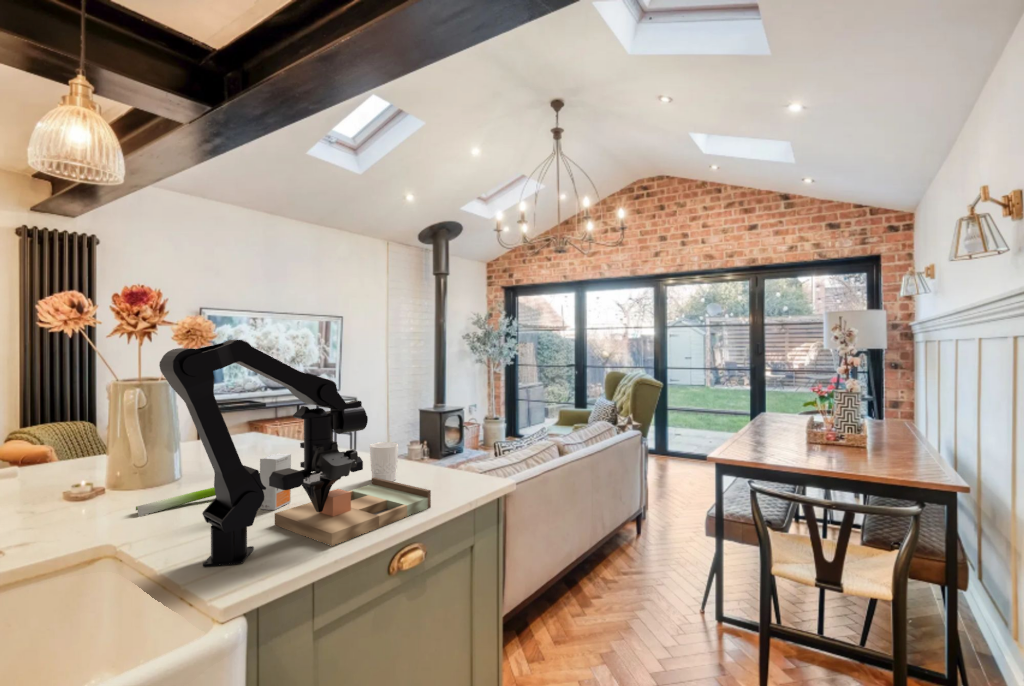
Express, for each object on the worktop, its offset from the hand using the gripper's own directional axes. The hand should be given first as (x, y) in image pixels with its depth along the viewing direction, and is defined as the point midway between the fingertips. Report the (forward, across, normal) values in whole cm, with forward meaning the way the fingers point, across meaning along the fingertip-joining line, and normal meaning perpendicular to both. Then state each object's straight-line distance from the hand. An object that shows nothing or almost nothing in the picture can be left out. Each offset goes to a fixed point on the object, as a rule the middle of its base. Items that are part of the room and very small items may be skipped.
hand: (319, 511), depth 103 cm
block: (+1, +4, 0) cm, 4 cm away
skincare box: (+4, +3, +22) cm, 22 cm away
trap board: (+4, +10, 0) cm, 11 cm away
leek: (+4, -4, +39) cm, 39 cm away
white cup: (+4, +33, +17) cm, 37 cm away
